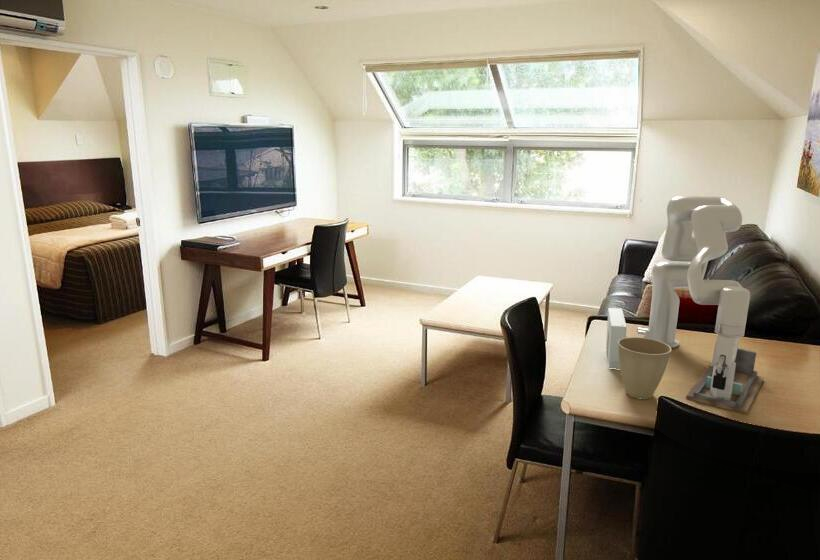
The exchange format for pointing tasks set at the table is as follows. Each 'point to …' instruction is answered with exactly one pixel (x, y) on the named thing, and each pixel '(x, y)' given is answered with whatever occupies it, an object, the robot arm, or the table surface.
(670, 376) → the table surface
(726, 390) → the skincare box
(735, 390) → the pusher
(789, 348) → the table surface
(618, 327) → the skincare box
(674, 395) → the table surface
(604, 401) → the table surface
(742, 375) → the tray
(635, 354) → the plant pot
